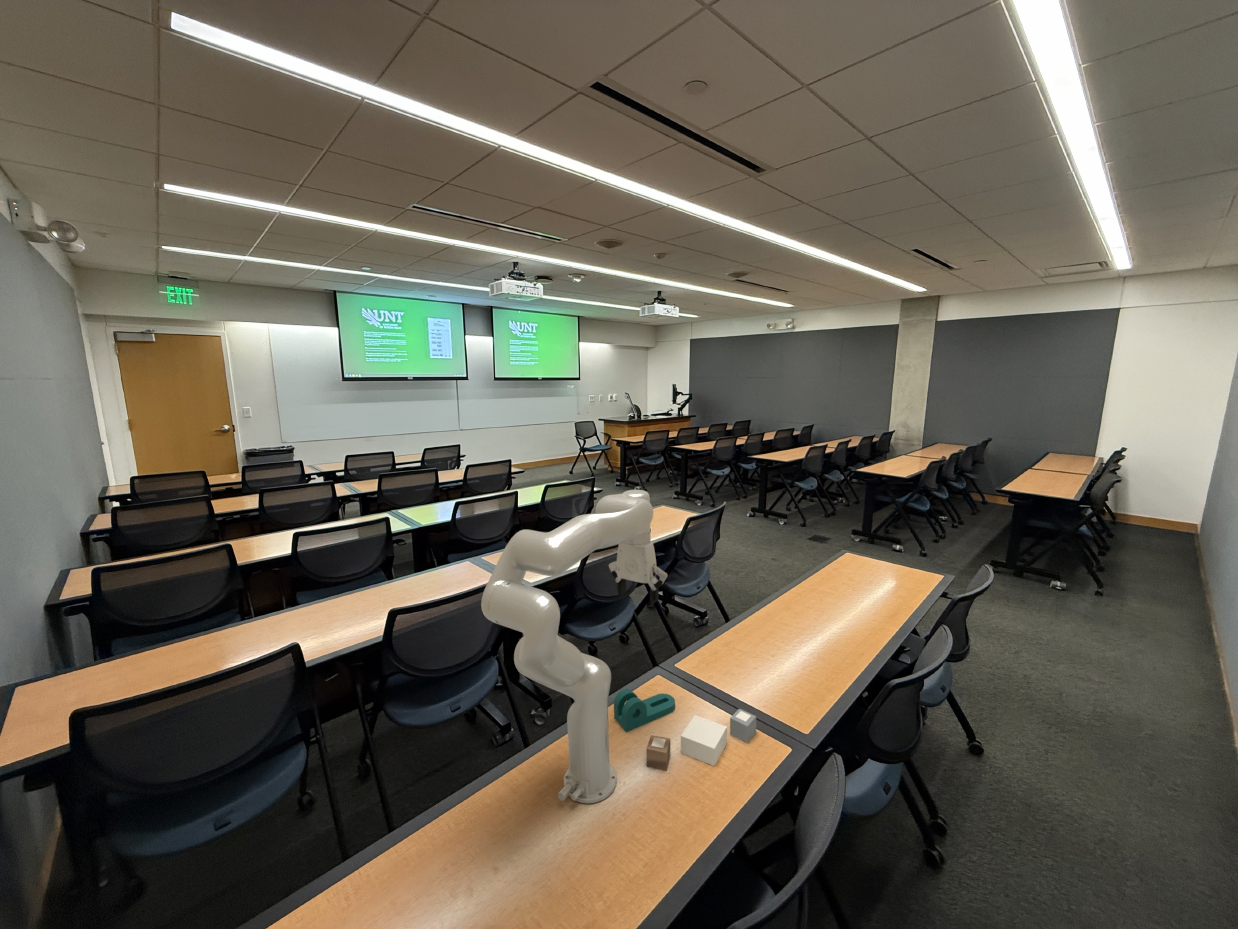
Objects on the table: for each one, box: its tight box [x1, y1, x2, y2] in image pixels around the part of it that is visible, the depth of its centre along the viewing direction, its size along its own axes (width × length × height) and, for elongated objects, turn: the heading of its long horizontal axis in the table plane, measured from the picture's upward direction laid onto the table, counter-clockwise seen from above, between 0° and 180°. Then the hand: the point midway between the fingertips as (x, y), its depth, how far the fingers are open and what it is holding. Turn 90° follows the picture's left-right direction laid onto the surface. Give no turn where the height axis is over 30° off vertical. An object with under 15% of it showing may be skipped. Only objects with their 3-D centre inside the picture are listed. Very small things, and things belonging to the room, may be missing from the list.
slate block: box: [729, 708, 757, 744], centre depth 128 cm, size 5×5×5 cm
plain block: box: [680, 714, 728, 767], centre depth 123 cm, size 9×9×5 cm
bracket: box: [613, 688, 676, 733], centre depth 137 cm, size 18×7×8 cm, turn 119°
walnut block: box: [645, 734, 672, 772], centre depth 119 cm, size 5×5×5 cm
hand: (637, 598), depth 128 cm, fingers open, 9 cm apart
